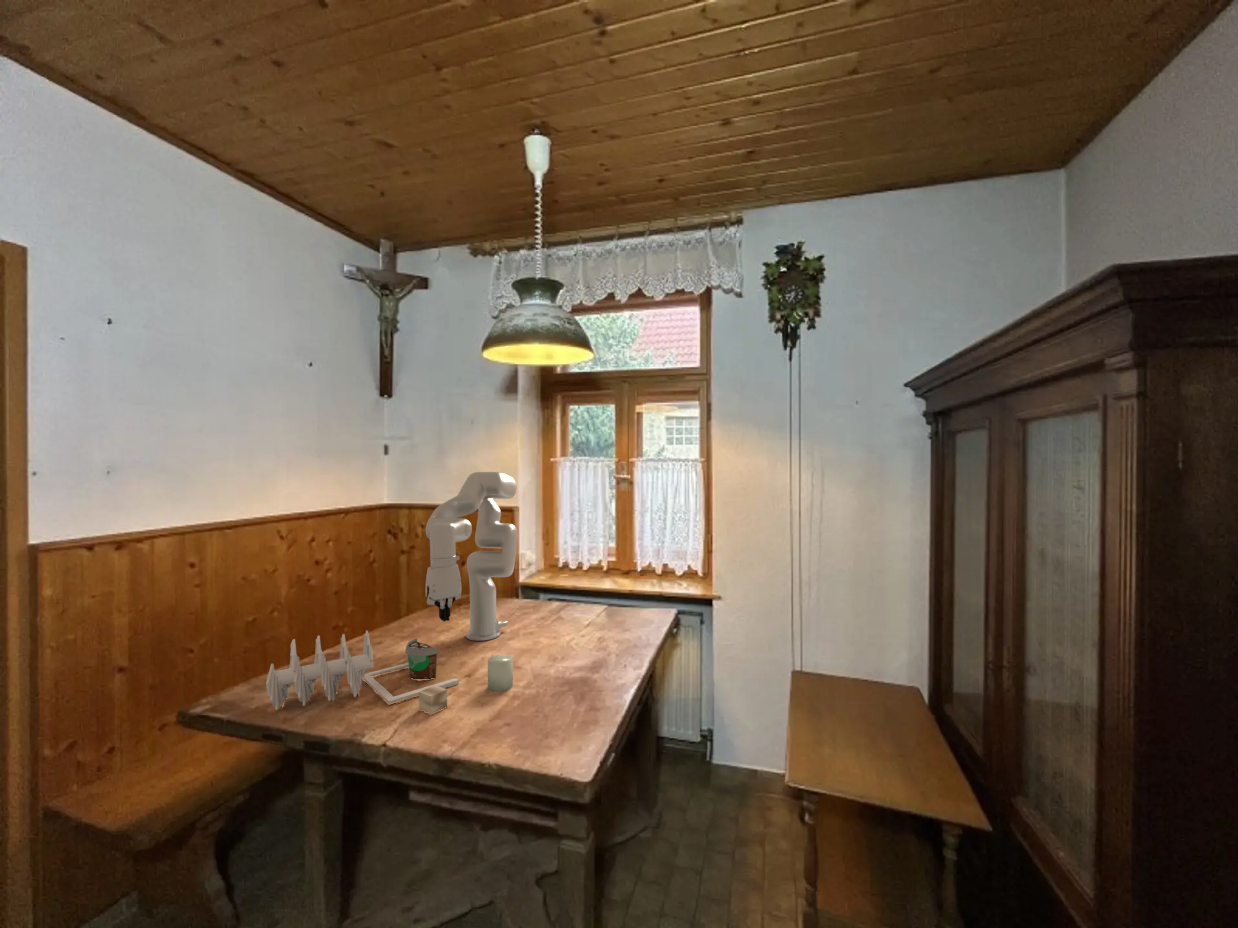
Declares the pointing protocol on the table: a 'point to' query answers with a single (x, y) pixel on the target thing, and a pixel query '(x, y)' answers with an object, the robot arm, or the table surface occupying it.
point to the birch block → (433, 699)
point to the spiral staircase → (319, 673)
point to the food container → (421, 660)
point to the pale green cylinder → (500, 673)
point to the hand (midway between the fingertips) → (444, 619)
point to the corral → (391, 699)
